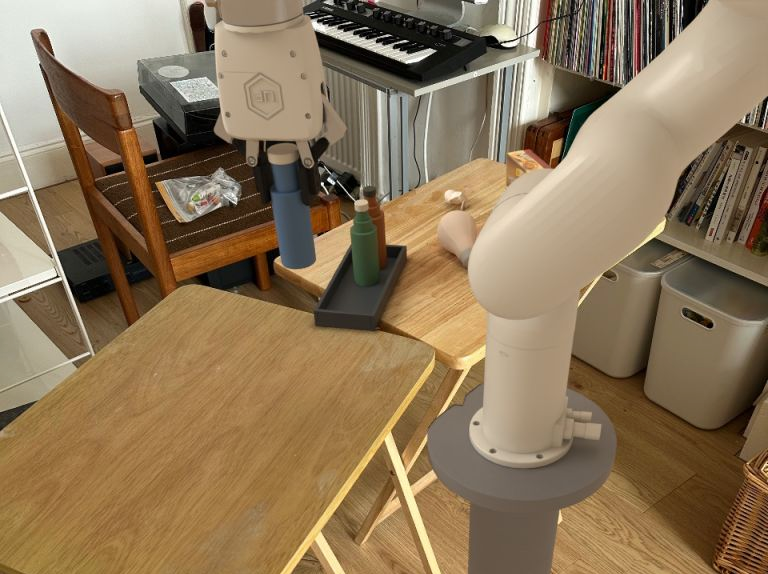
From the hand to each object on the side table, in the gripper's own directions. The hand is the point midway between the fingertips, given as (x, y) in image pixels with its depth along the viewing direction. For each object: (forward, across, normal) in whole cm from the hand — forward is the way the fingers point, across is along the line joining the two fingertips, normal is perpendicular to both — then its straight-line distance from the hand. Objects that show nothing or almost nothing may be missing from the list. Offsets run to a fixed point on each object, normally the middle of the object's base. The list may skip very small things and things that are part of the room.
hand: (289, 197), depth 85 cm
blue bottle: (+7, 0, 0) cm, 7 cm away
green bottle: (+26, 0, +30) cm, 40 cm away
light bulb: (+27, +13, +40) cm, 50 cm away
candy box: (+27, +23, +41) cm, 54 cm away
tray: (+27, 0, +27) cm, 38 cm away
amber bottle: (+26, 0, +34) cm, 43 cm away
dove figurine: (+27, +9, +58) cm, 65 cm away
